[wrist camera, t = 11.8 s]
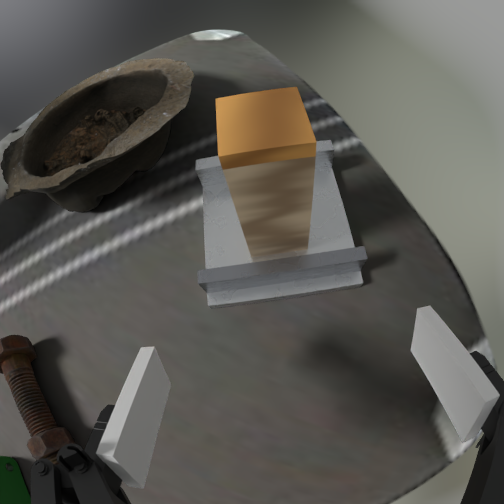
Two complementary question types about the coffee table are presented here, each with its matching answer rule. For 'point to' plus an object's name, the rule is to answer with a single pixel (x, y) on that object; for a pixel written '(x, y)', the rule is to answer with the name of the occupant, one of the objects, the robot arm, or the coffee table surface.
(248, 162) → the block
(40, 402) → the bolt
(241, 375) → the coffee table surface
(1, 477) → the green notched mounting bracket
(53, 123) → the stone bowl
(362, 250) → the keeper bracket
